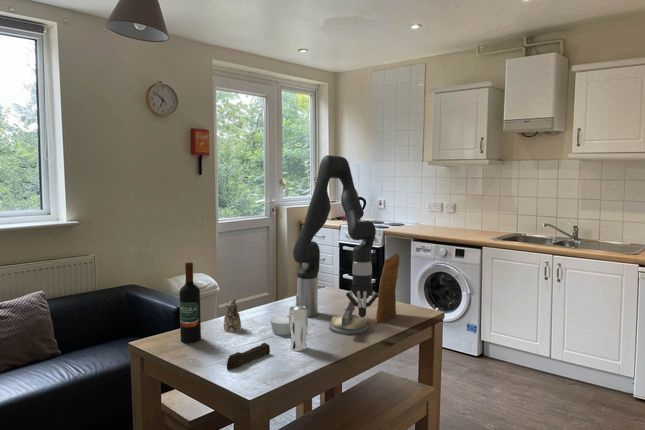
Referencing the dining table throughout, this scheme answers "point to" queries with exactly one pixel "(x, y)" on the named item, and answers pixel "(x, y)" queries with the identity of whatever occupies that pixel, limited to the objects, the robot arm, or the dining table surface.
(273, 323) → the ramekin
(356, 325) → the capstan dial
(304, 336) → the beer glass
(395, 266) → the pancake mix bag
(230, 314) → the figurine
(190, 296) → the wine bottle
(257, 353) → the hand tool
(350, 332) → the dial plinth
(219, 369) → the dining table surface
